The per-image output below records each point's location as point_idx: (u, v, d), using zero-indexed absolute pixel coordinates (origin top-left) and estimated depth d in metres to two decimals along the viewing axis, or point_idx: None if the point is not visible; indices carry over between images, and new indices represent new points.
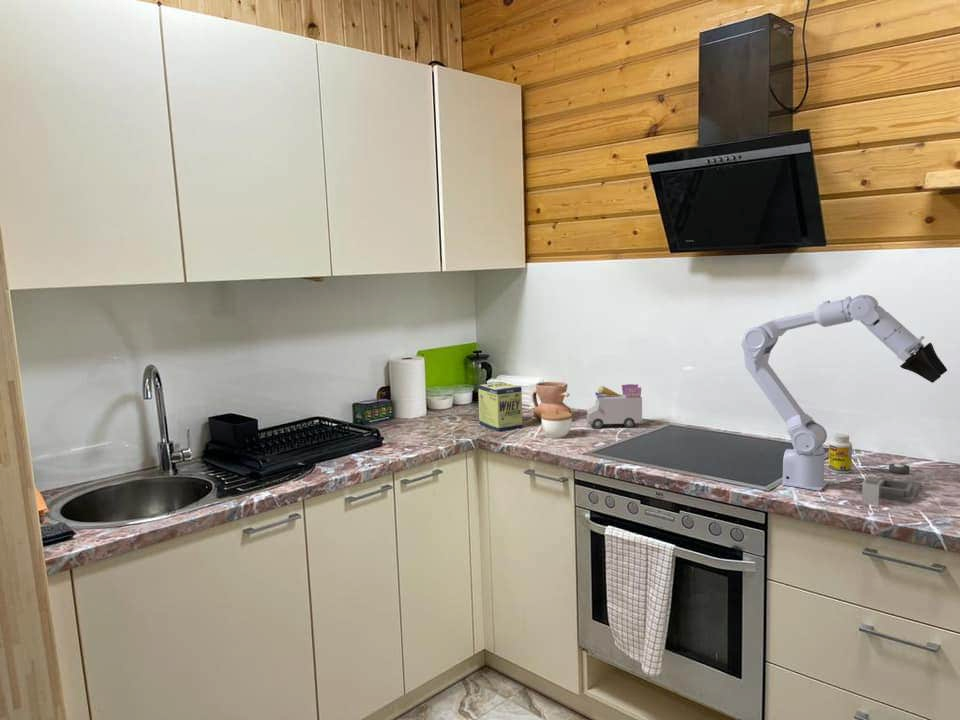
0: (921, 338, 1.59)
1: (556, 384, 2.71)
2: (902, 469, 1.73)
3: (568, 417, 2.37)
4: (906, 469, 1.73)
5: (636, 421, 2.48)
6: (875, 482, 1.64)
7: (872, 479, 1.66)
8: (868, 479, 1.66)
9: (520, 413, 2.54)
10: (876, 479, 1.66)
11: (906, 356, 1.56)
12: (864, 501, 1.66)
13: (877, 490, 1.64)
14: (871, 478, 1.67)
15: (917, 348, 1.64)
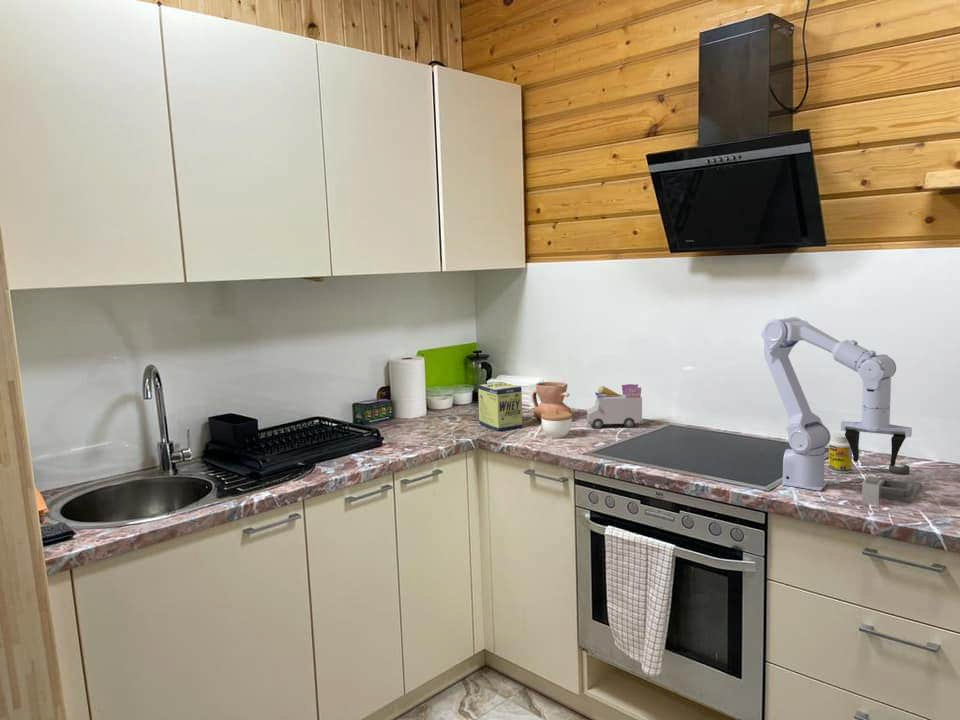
0: (868, 429, 1.62)
1: (555, 384, 2.71)
2: (902, 469, 1.73)
3: (568, 417, 2.37)
4: (906, 469, 1.73)
5: (636, 421, 2.48)
6: (875, 482, 1.64)
7: (872, 479, 1.66)
8: (868, 479, 1.66)
9: (520, 413, 2.54)
10: (876, 479, 1.66)
11: None
12: (864, 501, 1.66)
13: (877, 490, 1.64)
14: (871, 478, 1.67)
15: (892, 432, 1.62)
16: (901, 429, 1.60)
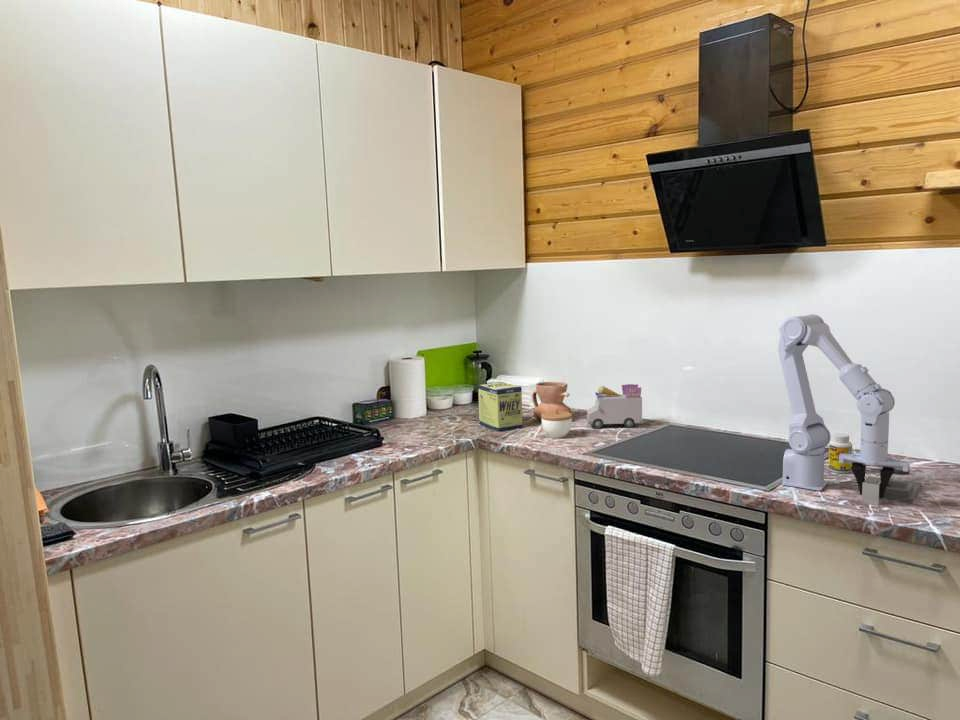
0: (865, 462, 1.63)
1: (555, 384, 2.71)
2: None
3: (568, 417, 2.37)
4: None
5: (636, 421, 2.48)
6: (875, 482, 1.64)
7: (872, 479, 1.66)
8: (868, 479, 1.66)
9: (520, 413, 2.54)
10: (876, 479, 1.66)
11: None
12: (864, 501, 1.66)
13: (877, 490, 1.64)
14: (871, 478, 1.67)
15: (890, 466, 1.63)
16: (899, 464, 1.61)
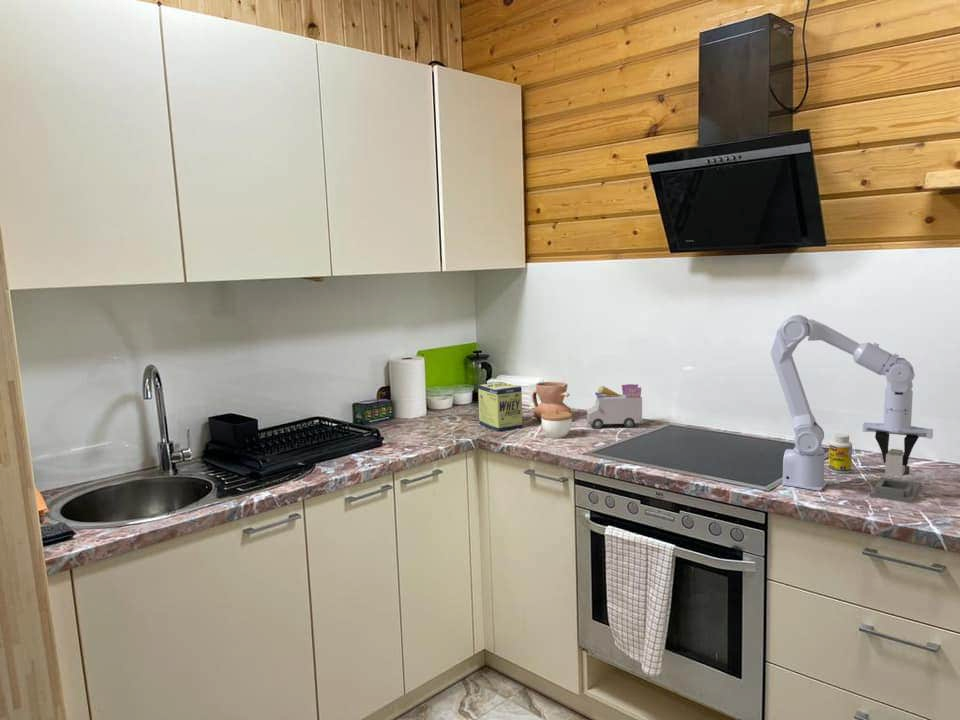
0: (890, 430, 1.66)
1: (556, 384, 2.71)
2: None
3: (568, 417, 2.37)
4: (906, 469, 1.73)
5: (636, 421, 2.48)
6: (898, 453, 1.67)
7: (895, 451, 1.69)
8: (891, 451, 1.69)
9: (520, 413, 2.54)
10: (899, 451, 1.69)
11: None
12: (887, 472, 1.69)
13: (901, 461, 1.67)
14: (894, 450, 1.70)
15: (913, 434, 1.66)
16: (923, 431, 1.64)
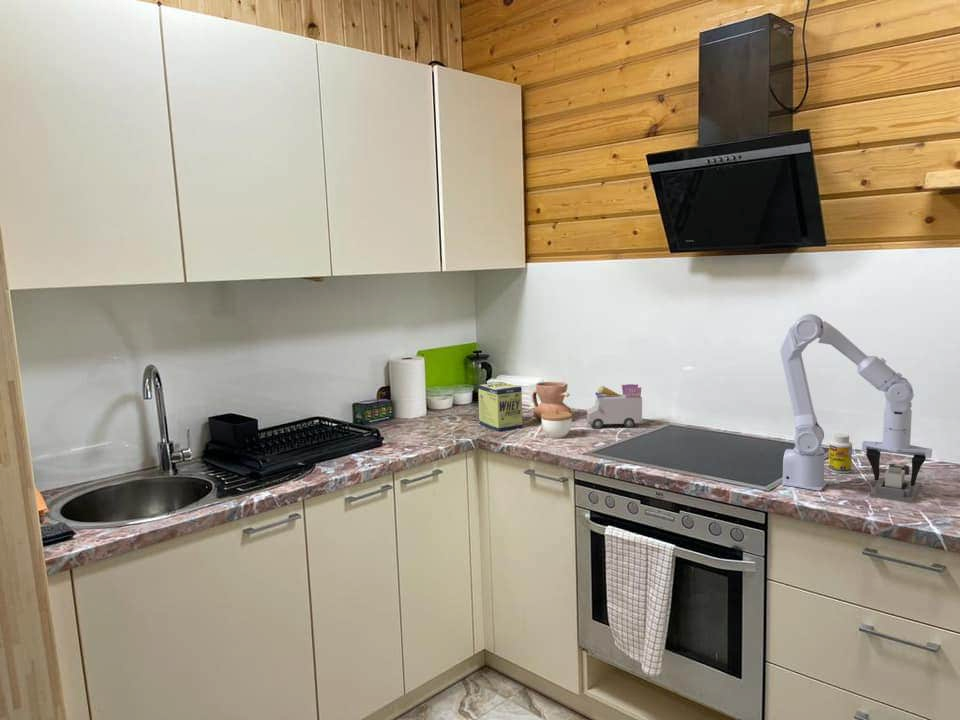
0: (889, 449, 1.67)
1: (556, 384, 2.71)
2: (902, 469, 1.73)
3: (568, 417, 2.37)
4: (906, 469, 1.73)
5: (636, 421, 2.48)
6: (898, 472, 1.68)
7: (895, 469, 1.69)
8: (891, 469, 1.70)
9: (520, 413, 2.54)
10: (899, 469, 1.69)
11: None
12: None
13: (900, 479, 1.67)
14: (894, 468, 1.70)
15: (912, 453, 1.67)
16: (922, 450, 1.65)
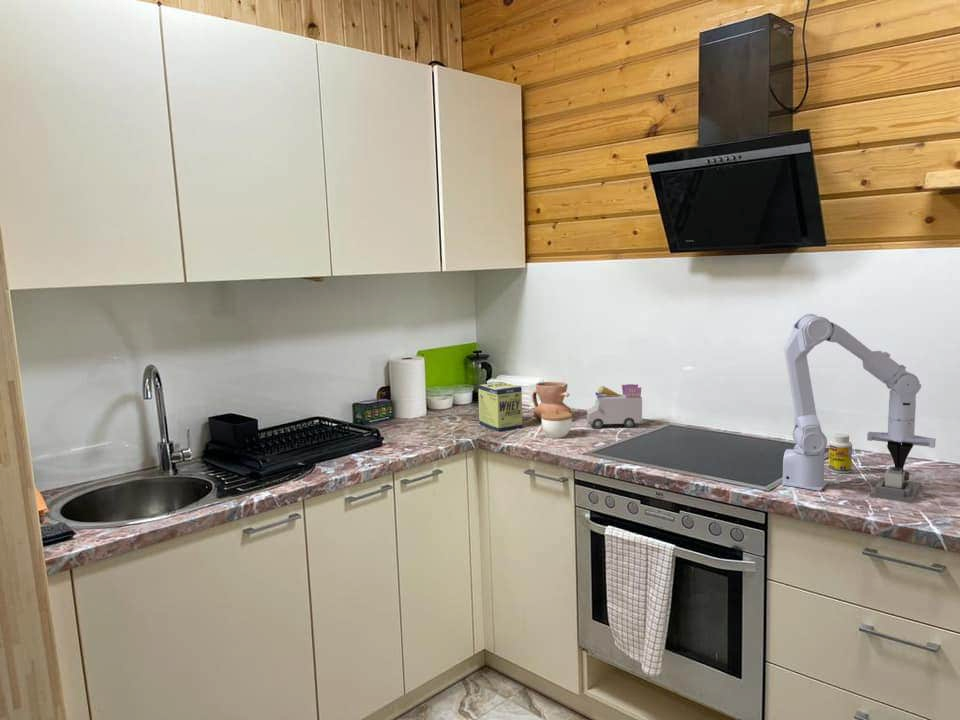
0: (893, 439, 1.72)
1: (556, 384, 2.71)
2: None
3: (568, 417, 2.37)
4: (906, 475, 1.73)
5: (636, 421, 2.48)
6: (898, 472, 1.68)
7: (895, 469, 1.69)
8: (891, 469, 1.70)
9: (520, 413, 2.54)
10: (899, 469, 1.69)
11: None
12: None
13: (900, 479, 1.67)
14: (894, 468, 1.70)
15: (916, 443, 1.72)
16: (926, 440, 1.70)
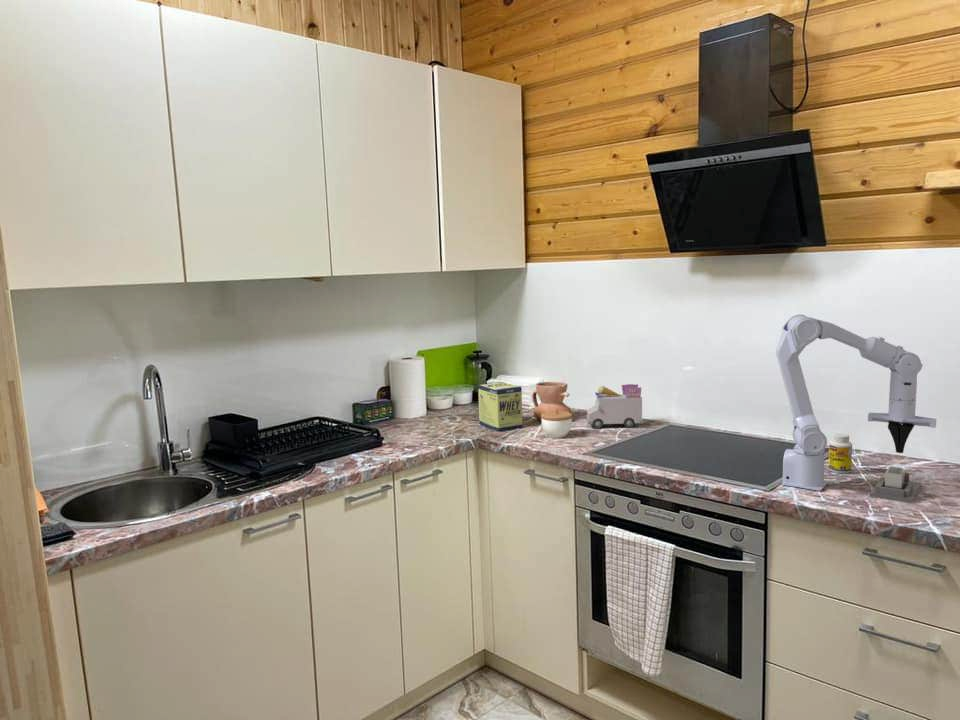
0: (894, 419, 1.71)
1: (556, 384, 2.71)
2: None
3: (568, 417, 2.37)
4: (906, 477, 1.73)
5: (636, 421, 2.48)
6: (898, 472, 1.68)
7: (895, 469, 1.69)
8: (891, 469, 1.70)
9: (520, 413, 2.54)
10: (899, 469, 1.69)
11: (868, 418, 1.78)
12: None
13: (900, 479, 1.67)
14: (894, 468, 1.70)
15: (917, 423, 1.71)
16: (926, 420, 1.69)
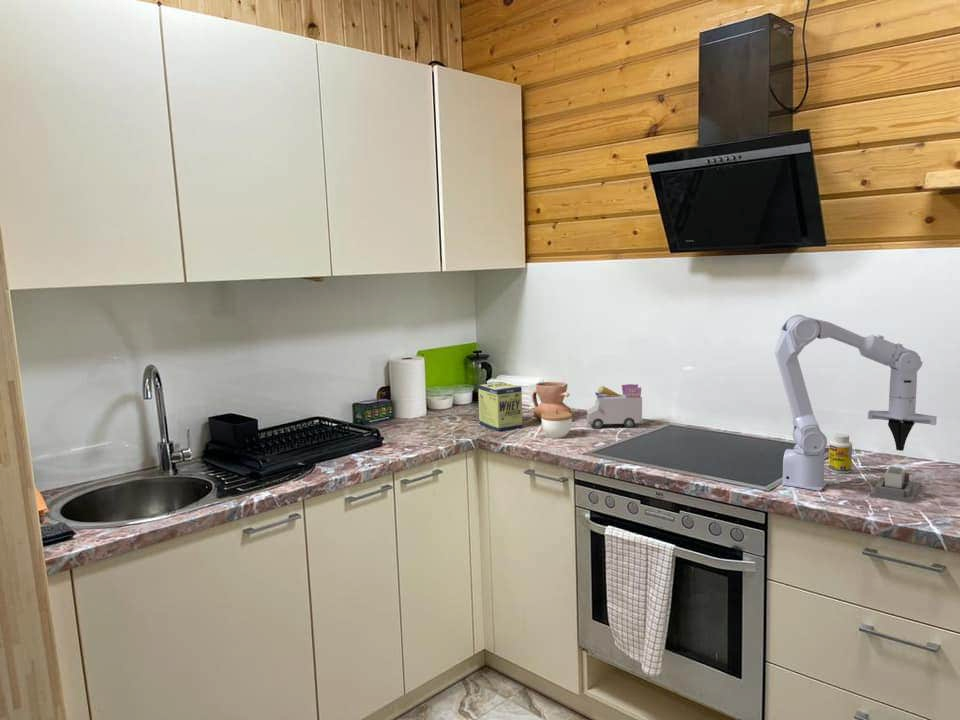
0: (894, 417, 1.71)
1: (556, 384, 2.71)
2: None
3: (568, 417, 2.37)
4: (906, 477, 1.73)
5: (636, 421, 2.48)
6: (898, 472, 1.68)
7: (895, 469, 1.69)
8: (891, 469, 1.70)
9: (520, 413, 2.54)
10: (899, 469, 1.69)
11: None
12: None
13: (900, 479, 1.67)
14: (894, 468, 1.70)
15: (917, 421, 1.71)
16: (927, 418, 1.69)
